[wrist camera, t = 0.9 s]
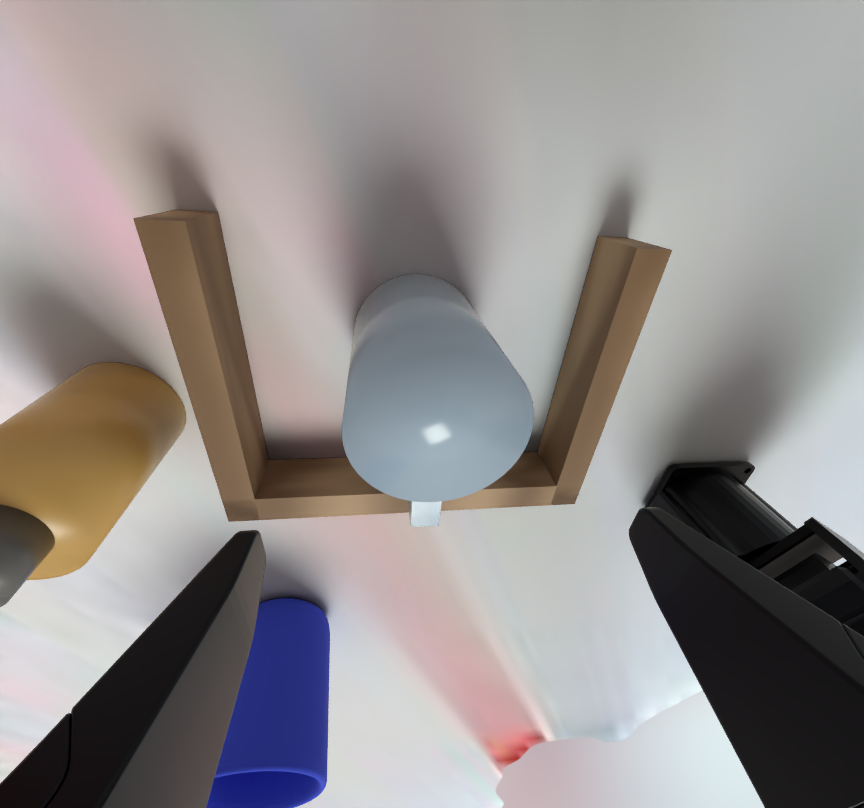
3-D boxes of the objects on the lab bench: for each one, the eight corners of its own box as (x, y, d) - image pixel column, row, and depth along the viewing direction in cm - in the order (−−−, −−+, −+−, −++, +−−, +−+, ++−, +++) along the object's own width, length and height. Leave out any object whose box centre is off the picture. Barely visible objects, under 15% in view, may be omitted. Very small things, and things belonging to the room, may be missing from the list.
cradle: (628, 237, 17) (671, 250, 15) (554, 469, 24) (574, 503, 22) (175, 209, 14) (133, 218, 12) (245, 480, 22) (228, 521, 19)
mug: (155, 612, 27) (57, 812, 19) (319, 575, 27) (295, 757, 19) (212, 662, 31) (153, 842, 23) (352, 630, 32) (344, 797, 23)
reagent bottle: (169, 362, 17) (4, 519, 10) (197, 446, 20) (85, 623, 12) (47, 361, 17) (-239, 531, 9) (92, 449, 19) (-98, 639, 12)
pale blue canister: (484, 276, 17) (554, 345, 11) (462, 429, 22) (501, 546, 15) (351, 271, 16) (335, 342, 10) (357, 431, 21) (350, 556, 14)
